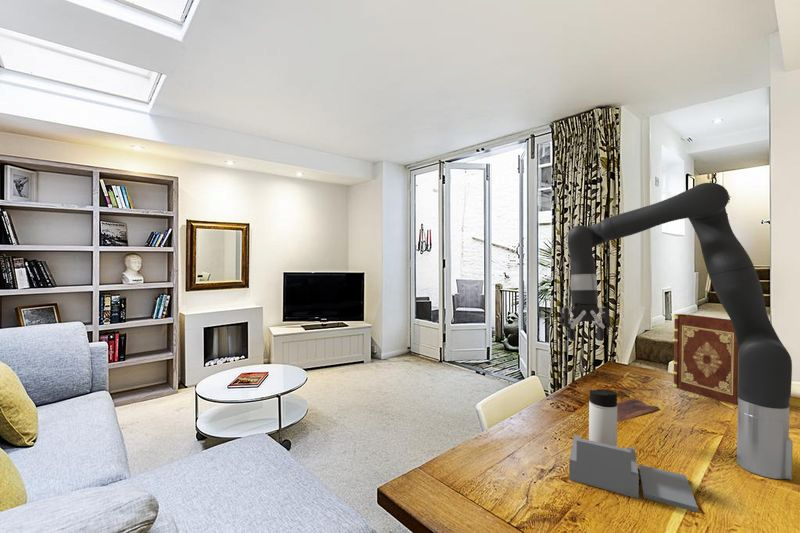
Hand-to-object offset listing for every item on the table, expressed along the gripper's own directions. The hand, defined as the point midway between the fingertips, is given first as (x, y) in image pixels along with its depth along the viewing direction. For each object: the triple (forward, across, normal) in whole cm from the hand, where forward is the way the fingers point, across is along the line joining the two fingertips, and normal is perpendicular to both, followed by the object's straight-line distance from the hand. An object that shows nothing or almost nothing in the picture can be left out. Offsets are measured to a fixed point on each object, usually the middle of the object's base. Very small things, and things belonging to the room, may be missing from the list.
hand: (586, 340), depth 113 cm
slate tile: (+30, +3, -27) cm, 41 cm away
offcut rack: (+30, -8, -21) cm, 37 cm away
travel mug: (+30, -7, -18) cm, 36 cm away
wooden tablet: (+28, +20, +16) cm, 37 cm away
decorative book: (+26, +62, +32) cm, 75 cm away
